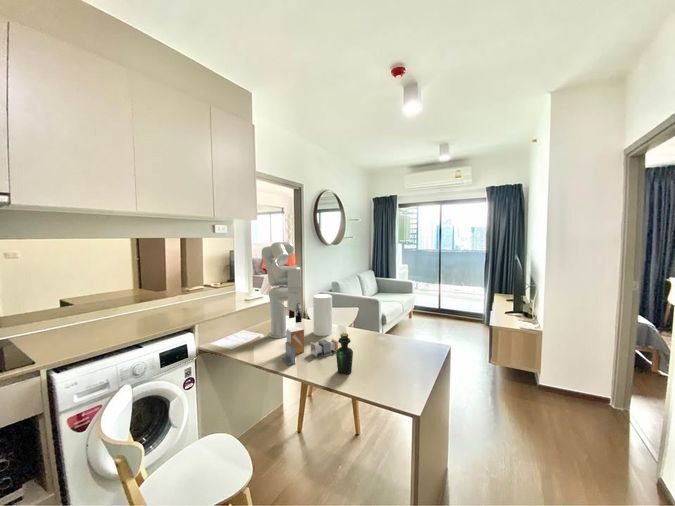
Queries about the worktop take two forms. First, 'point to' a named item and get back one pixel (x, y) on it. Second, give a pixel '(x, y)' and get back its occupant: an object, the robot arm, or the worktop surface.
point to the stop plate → (289, 354)
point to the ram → (319, 348)
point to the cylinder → (322, 314)
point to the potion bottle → (344, 355)
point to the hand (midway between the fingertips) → (295, 320)
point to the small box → (296, 338)
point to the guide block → (325, 348)
